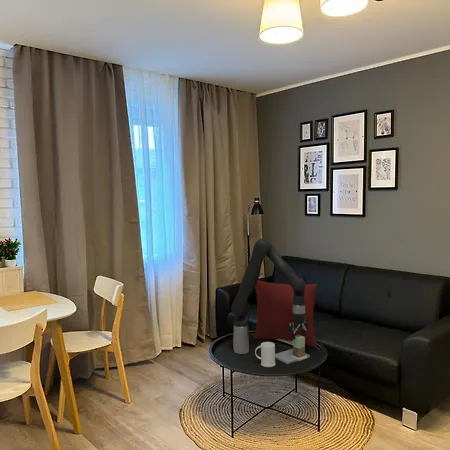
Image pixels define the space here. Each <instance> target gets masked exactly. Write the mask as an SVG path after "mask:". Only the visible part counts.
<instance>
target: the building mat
mask: <svg viewBox="0 0 450 450" xmlns="http://www.w3.org/2000/svg"><path fill="white" fill-rule="evenodd" d="M310 356H311V355H310V354H308V353H306V352H305V356H304V357H301V358H297V357H295V356H293V348H291V349H288V350H285V351H281V352H278V353H275V360H278V361H281V362H282V363H284V364H286V365H289V364H292V363H295V362H300V361H303V360H305V359H308V358H310Z"/></svg>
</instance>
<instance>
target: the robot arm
mask: <svg viewBox="0 0 450 450" xmlns="http://www.w3.org/2000/svg"><path fill="white" fill-rule="evenodd" d="M265 257H267V258H268V259H269V260H270V261H271V263H272V264H273V266H274V267H275V269H276V271H278V273H279V274H280V275H281V276H282V278H284V279H285V280H286V281H287V282H288V283H287V284H290V285H291V287H292V288H293V289H294V296H293V315H292V318H293V323H289V333H291V338H292V339H293V340H295V332H296V331H297V329H299V328H302V329H303V330H302V336H304V337H305V336H306V330H307V329H309V323H308V320H307V319H305V284H306V282H305V279H303V278H302V277H299V276H298V275H297V274H296V272H295V271H294V269H293V268H292V267H291V266H290V265H289V264H288V263H287V262H286V261H285V260H284V259H283V258H282V257H281V255H280V254H279V253H278V251H276V249H275V248H274V246H273V245H272V243H271V242H270V240H269V239H268V238H264V237H262V238H259V239H258V240H257V241H255V243H254V245H253V249H252V253H251V256H250V260H249V262H248V264H247V266H246V268H245V271H244V273H243V276H242V279H241V282H240V285H239V288H238V290H237V294H236V296H235V298H234V299H233V302H232V303H231V308H230V309H231V312H232V314H233V315H234V316H235V317H234V319H233V335H232V339H233V340H232V342H233V343H232V344H233V347H232V348H233V351H234V353H235V354H239V355H243V354H244V355H245V354H248V353H249V351H250V350H249V349H250V348H249V347H250V346H249V345H250V343H249V342H250V341H249V340H250V339H249V336H250V335H249V321H250V315H251V314H250V313H251V312H250V311H251V309H250V303H249V301H248V299H249V297H250V295H251V294H252V292H253V291H254V289H255V286H256V284H257V281H258V280H260V279H259V278H260V275H261V271H262V270H261V269H262V265H263V262H264V260H265ZM306 325H307V327H306ZM294 327H295V328H294ZM293 331H294V332H293Z"/></svg>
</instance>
